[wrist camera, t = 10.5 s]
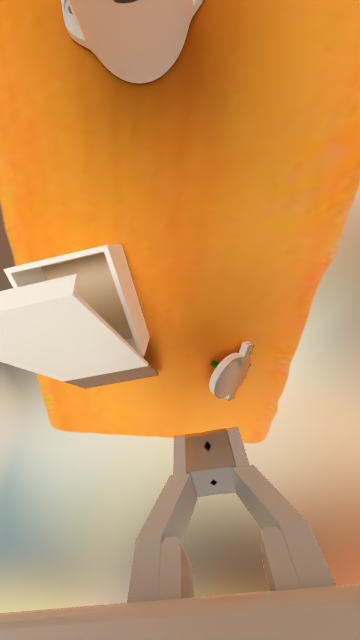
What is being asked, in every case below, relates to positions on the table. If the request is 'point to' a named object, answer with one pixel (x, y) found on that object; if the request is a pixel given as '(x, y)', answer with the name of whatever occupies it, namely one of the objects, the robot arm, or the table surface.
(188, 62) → the table surface
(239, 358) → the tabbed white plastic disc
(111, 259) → the box
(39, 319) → the lid
